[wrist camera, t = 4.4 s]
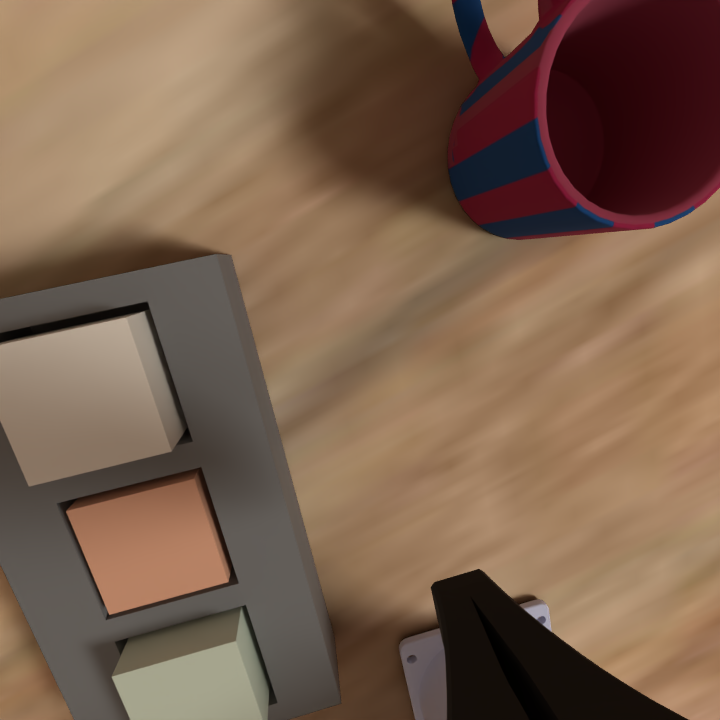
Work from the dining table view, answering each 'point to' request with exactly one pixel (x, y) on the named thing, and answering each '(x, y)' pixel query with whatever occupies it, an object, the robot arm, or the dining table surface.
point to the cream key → (88, 397)
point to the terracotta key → (152, 540)
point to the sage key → (195, 671)
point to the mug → (590, 118)
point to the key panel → (194, 450)
